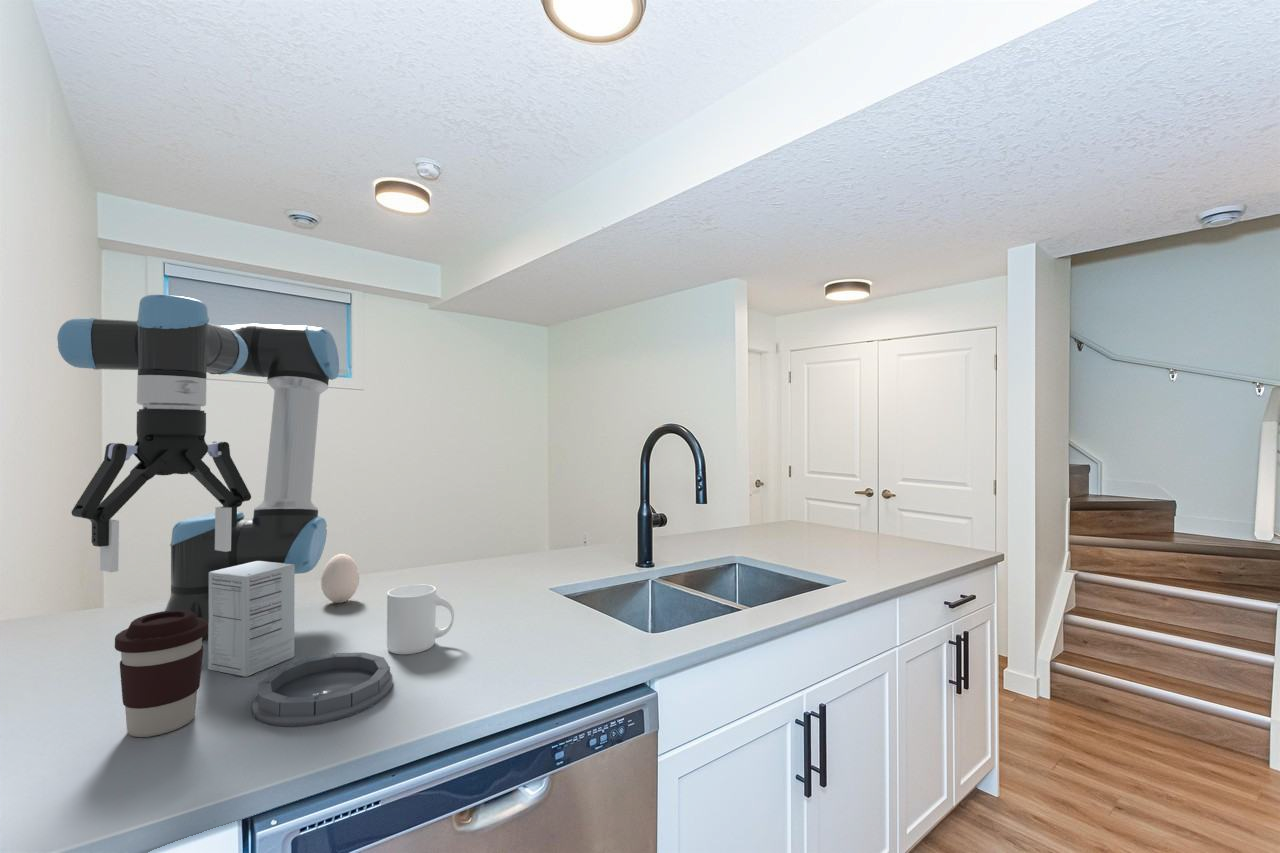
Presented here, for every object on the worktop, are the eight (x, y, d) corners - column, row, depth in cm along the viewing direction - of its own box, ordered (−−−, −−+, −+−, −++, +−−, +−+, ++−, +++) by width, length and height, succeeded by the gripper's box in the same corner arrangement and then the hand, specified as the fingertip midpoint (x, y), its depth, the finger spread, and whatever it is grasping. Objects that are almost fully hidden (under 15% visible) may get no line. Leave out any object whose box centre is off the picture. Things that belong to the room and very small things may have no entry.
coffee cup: (151, 708, 84) (152, 606, 84) (222, 706, 85) (224, 605, 85) (92, 745, 74) (94, 630, 74) (174, 743, 75) (175, 629, 75)
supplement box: (296, 657, 103) (297, 563, 103) (246, 678, 94) (247, 576, 94) (257, 649, 106) (258, 559, 106) (205, 669, 97) (207, 570, 97)
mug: (450, 653, 106) (451, 595, 105) (381, 657, 103) (382, 597, 103) (456, 636, 114) (457, 582, 114) (392, 639, 112) (393, 584, 112)
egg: (353, 595, 140) (353, 548, 140) (363, 603, 134) (364, 554, 134) (316, 601, 135) (317, 553, 135) (326, 610, 129) (326, 559, 129)
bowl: (223, 707, 84) (223, 687, 84) (339, 660, 101) (339, 643, 101) (308, 739, 76) (308, 716, 76) (418, 682, 93) (418, 664, 93)
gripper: (67, 404, 67) (64, 585, 67) (278, 410, 90) (276, 545, 90) (37, 404, 70) (34, 577, 70) (248, 410, 93) (246, 541, 93)
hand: (170, 560), depth 80 cm, fingers open, 13 cm apart
